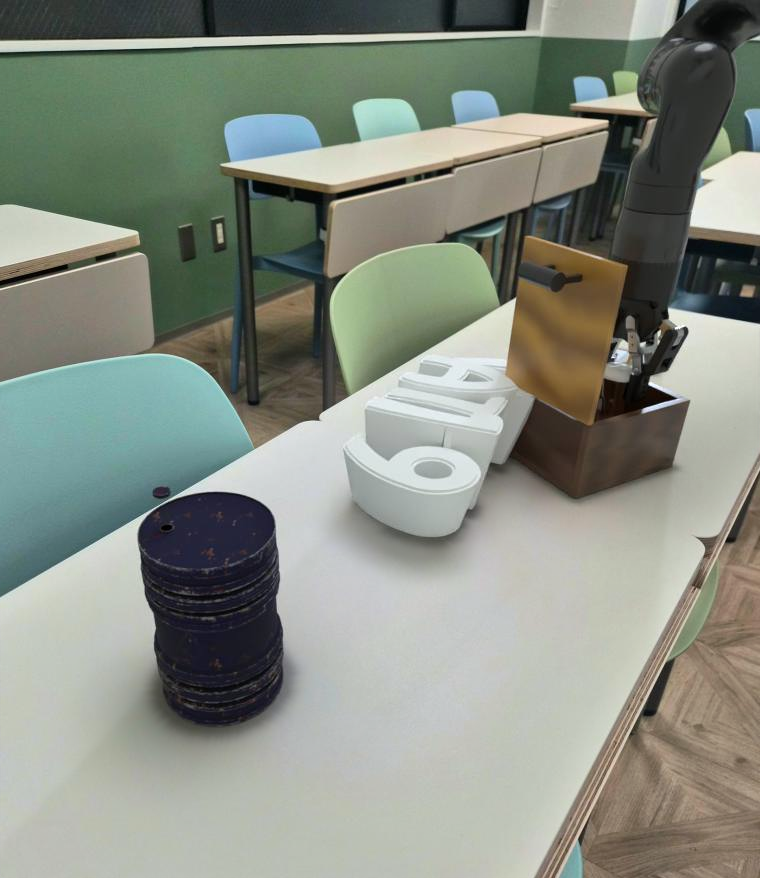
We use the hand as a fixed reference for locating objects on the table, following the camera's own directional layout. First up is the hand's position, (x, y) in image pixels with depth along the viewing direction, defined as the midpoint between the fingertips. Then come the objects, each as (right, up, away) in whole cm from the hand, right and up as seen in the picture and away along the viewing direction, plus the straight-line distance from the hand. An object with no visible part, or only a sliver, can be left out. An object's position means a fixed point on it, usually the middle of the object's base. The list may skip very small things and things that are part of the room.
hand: (616, 393), depth 89 cm
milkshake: (0, -5, +3) cm, 6 cm away
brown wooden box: (-3, -8, +3) cm, 9 cm away
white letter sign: (-21, -10, -2) cm, 23 cm away
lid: (-10, +6, -10) cm, 15 cm away
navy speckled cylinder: (-43, -27, -30) cm, 59 cm away
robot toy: (+13, +9, +32) cm, 35 cm away
